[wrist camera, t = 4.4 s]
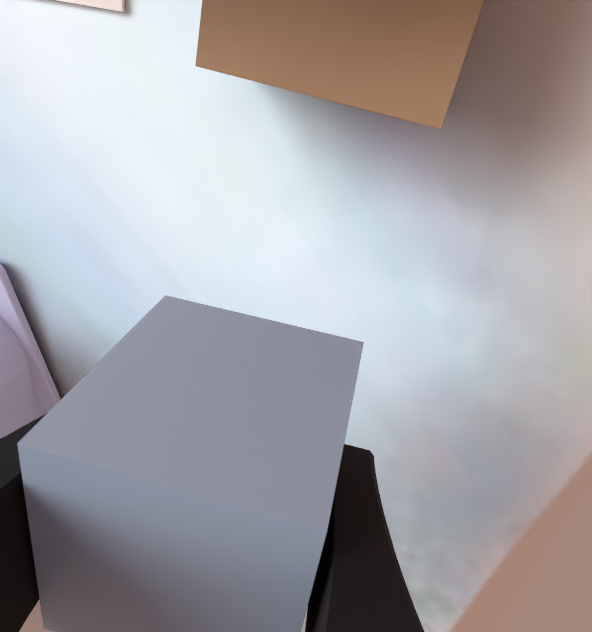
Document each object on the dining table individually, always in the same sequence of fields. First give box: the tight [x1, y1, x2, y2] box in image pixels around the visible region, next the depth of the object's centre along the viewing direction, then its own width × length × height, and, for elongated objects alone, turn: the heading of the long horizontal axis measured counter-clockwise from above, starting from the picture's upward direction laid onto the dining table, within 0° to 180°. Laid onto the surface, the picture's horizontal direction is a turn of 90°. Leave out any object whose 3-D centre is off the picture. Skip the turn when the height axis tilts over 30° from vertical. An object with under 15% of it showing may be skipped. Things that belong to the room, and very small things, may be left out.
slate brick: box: [17, 296, 364, 632], centre depth 11 cm, size 4×4×5 cm
